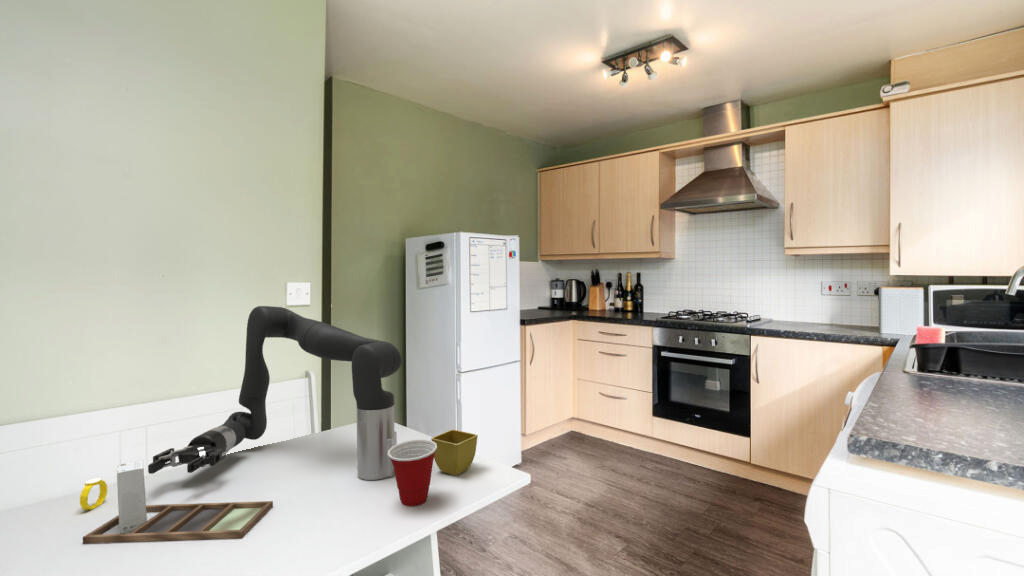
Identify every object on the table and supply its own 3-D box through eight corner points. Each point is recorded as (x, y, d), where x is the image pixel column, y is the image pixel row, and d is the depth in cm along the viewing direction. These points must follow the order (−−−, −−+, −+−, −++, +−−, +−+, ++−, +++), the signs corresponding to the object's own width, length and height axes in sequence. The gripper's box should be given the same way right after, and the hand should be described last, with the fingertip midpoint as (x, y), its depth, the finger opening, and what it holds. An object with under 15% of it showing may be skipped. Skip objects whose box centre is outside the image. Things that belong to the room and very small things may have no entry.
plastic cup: (378, 501, 103) (377, 447, 103) (418, 486, 111) (418, 435, 111) (406, 518, 95) (405, 460, 95) (447, 499, 103) (447, 446, 103)
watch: (91, 514, 99) (88, 487, 99) (76, 515, 99) (74, 488, 99) (111, 499, 105) (109, 473, 105) (98, 500, 105) (96, 474, 105)
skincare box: (147, 527, 93) (146, 467, 93) (117, 535, 90) (116, 473, 90) (146, 516, 97) (145, 458, 97) (118, 523, 95) (117, 464, 95)
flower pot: (479, 468, 121) (478, 434, 121) (457, 481, 113) (457, 444, 113) (452, 462, 125) (452, 429, 125) (430, 473, 118) (430, 438, 118)
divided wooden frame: (272, 506, 101) (272, 501, 101) (241, 538, 88) (241, 531, 88) (134, 511, 100) (134, 505, 100) (82, 543, 87) (82, 537, 87)
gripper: (184, 430, 120) (136, 453, 104) (240, 429, 121) (201, 451, 105) (185, 459, 121) (137, 486, 104) (241, 458, 121) (202, 484, 105)
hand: (169, 469), depth 105 cm, fingers open, 8 cm apart
